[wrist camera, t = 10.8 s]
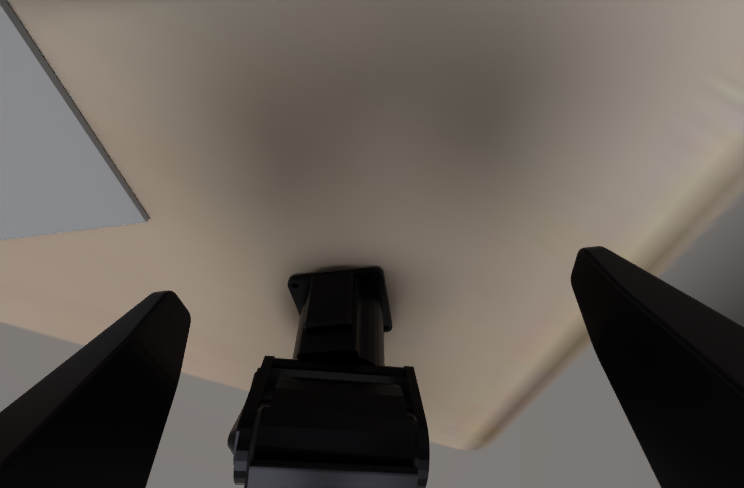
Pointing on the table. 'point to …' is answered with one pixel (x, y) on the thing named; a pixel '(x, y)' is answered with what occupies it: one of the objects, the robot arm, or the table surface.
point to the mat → (50, 151)
